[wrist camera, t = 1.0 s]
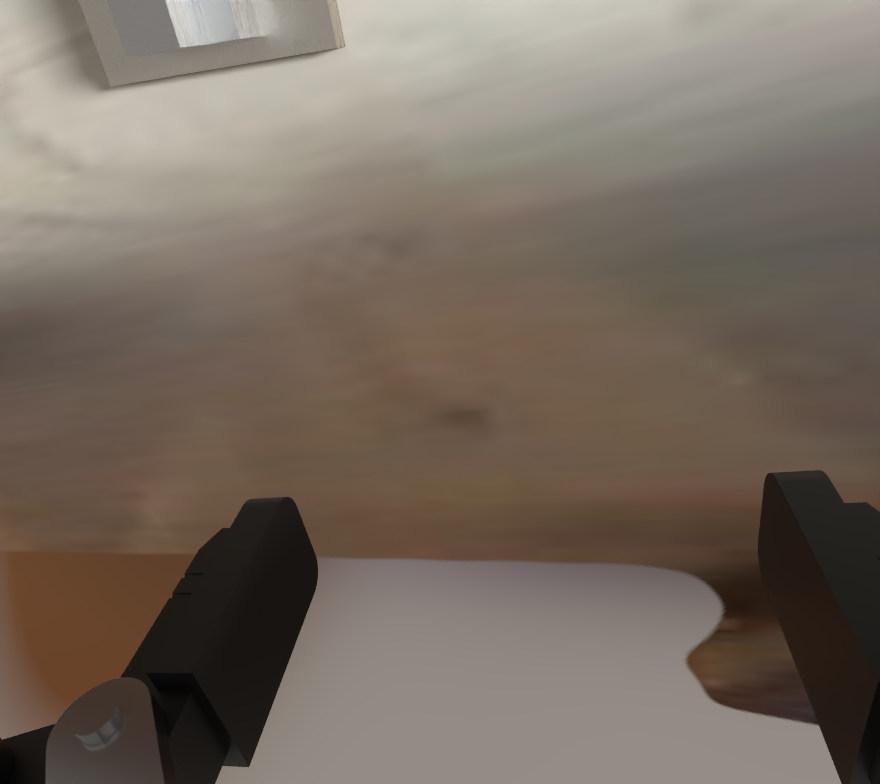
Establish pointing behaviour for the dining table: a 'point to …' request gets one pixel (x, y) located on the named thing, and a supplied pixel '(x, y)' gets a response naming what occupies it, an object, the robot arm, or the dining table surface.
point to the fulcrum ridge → (204, 34)
